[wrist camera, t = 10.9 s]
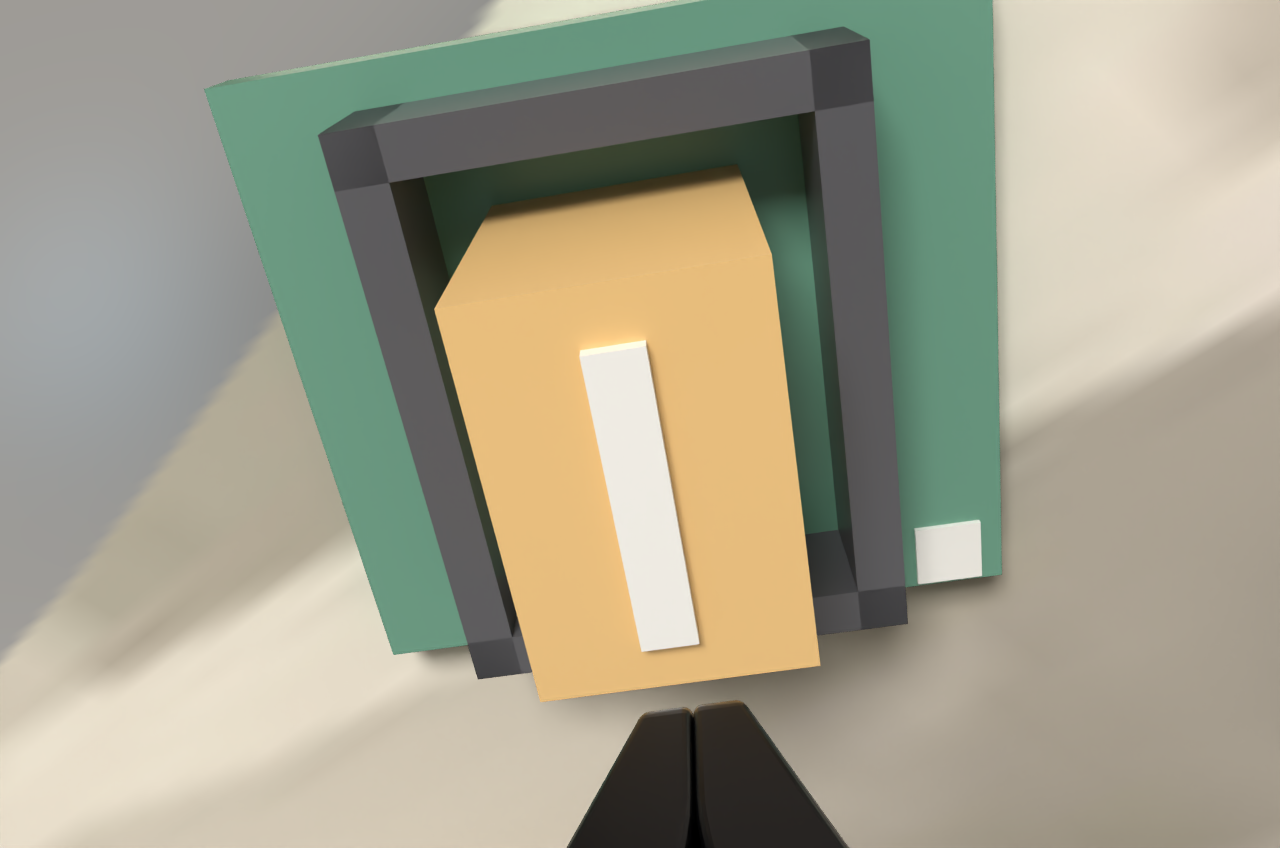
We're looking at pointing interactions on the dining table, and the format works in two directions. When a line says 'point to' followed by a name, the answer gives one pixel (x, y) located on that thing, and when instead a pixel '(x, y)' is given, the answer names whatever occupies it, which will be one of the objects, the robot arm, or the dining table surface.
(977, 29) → the socket board
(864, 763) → the dining table surface
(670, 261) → the plug
